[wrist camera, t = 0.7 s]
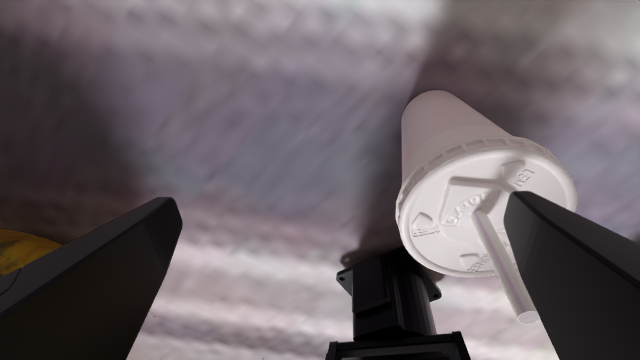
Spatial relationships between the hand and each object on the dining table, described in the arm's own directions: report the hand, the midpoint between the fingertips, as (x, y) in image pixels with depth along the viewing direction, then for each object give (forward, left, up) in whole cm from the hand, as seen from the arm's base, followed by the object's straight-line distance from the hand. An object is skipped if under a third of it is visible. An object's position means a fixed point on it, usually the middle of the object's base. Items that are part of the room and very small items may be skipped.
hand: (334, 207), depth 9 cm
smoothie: (-5, -3, -13) cm, 14 cm away
